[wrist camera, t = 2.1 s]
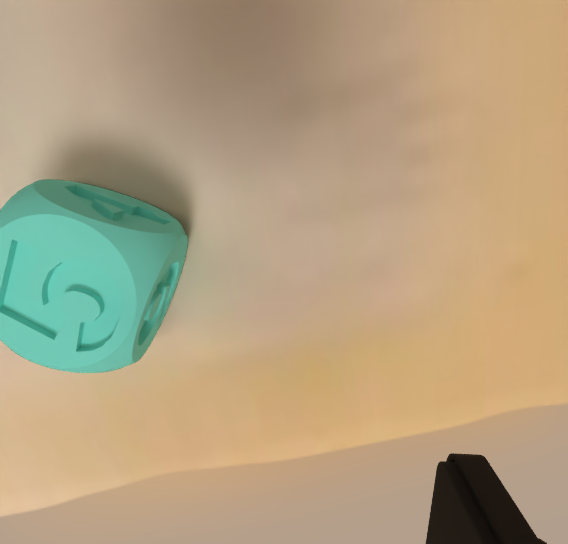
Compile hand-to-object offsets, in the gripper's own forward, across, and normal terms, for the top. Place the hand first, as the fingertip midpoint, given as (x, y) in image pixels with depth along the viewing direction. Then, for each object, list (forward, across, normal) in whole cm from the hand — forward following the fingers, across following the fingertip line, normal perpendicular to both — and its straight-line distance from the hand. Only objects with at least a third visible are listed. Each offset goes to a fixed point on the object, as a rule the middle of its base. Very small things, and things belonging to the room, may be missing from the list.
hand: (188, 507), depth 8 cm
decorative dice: (+21, +9, 0) cm, 23 cm away
